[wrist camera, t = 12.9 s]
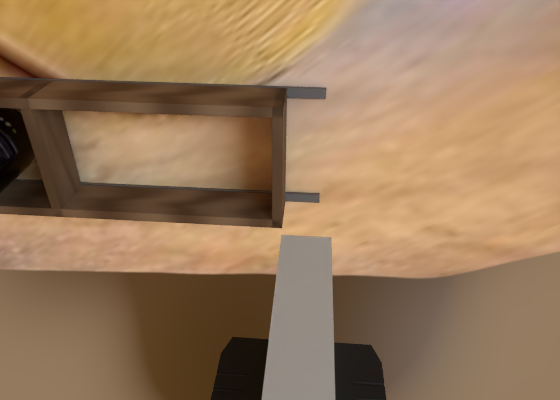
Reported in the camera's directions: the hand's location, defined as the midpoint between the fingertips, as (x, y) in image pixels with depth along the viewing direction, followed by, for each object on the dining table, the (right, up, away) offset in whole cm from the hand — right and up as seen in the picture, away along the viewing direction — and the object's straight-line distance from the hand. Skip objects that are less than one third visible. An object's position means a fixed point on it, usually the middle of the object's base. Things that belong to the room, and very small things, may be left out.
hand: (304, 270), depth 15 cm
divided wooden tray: (-15, +7, +25) cm, 30 cm away
